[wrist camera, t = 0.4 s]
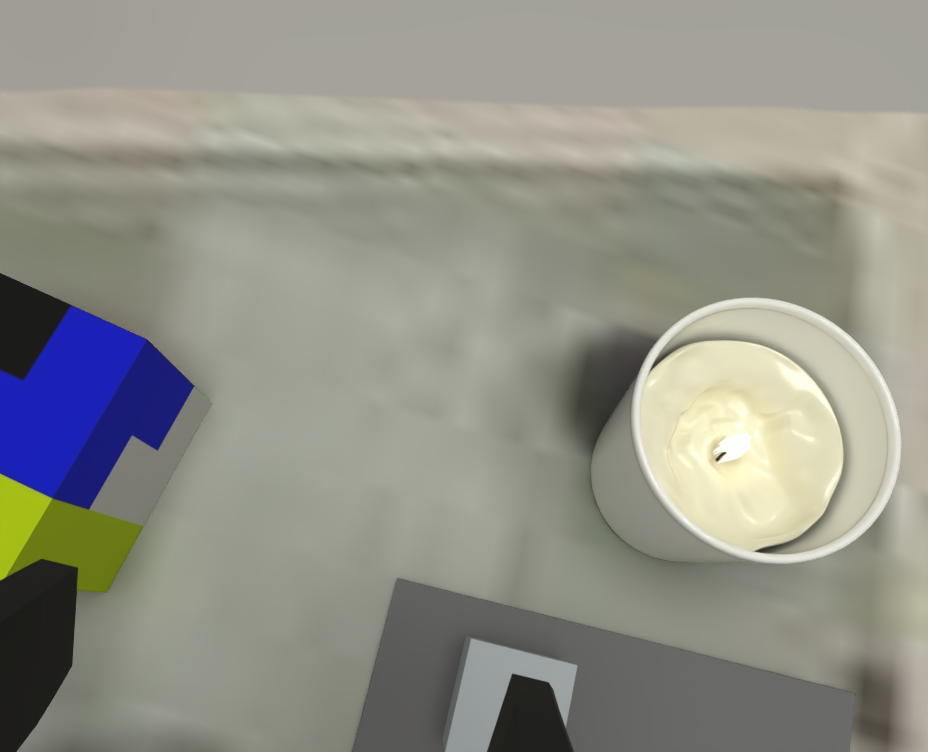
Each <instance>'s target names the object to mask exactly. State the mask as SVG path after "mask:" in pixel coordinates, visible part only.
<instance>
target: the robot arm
mask: <svg viewBox="0 0 928 752" xmlns="http://www.w3.org/2000/svg"><path fill="white" fill-rule="evenodd" d="M77 580H78V567H74V566H70V565H66V564H62V563H57V562H53V561H49V560H45V559H40V560H38V561H36V562H34V563H32V564H30V565H28V566H26V567H24V568H22V569H21V570H19V571H17V572H15V573H13V574H11V575H9V576H7V577H6V578H4V579H2V580H0V752H16V751H17V750H18V749H19V747H20V746H21V745H22V744H23V742H24V741H25V740H26V738H27V737H28V736H29V734H30V733H31V732H32V730H33V729H34V728H35V726H36V725H37V724H38V722H39V720H40V719H41V717H42V716H43V714H44V712H45V711H46V709H47V707H48V706H49V704H50V703H51V701H52V699H53V698H54V696H55V694H56V693H57V691H58V689H59V687H60V686H61V684H62V682H63V681H64V679H65V677H66V675H67V674H68V672H69V670H70V669H71V667H72V659H73V643H74V627H75V612H76V596H77ZM487 752H574V750H573V747H572V744H571V741H570V739H569V736H568V733H567V730H566V728H565V725H564V722H563V719H562V716H561V713H560V710H559V707H558V703H557V700H556V697H555V694H554V690H553V688H552V687H551V685H550V683H549V682H546V681H541V680H537V679H533V678H529V677H525V676H521V675H517V674H513V673H512V675H511V679H510V682H509V685H508V688H507V691H506V694H505V697H504V700H503V703H502V706H501V709H500V713H499V716H498V719H497V722H496V725H495V728H494V731H493V734H492V737H491V740H490V743H489V747H488V750H487Z"/></svg>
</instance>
